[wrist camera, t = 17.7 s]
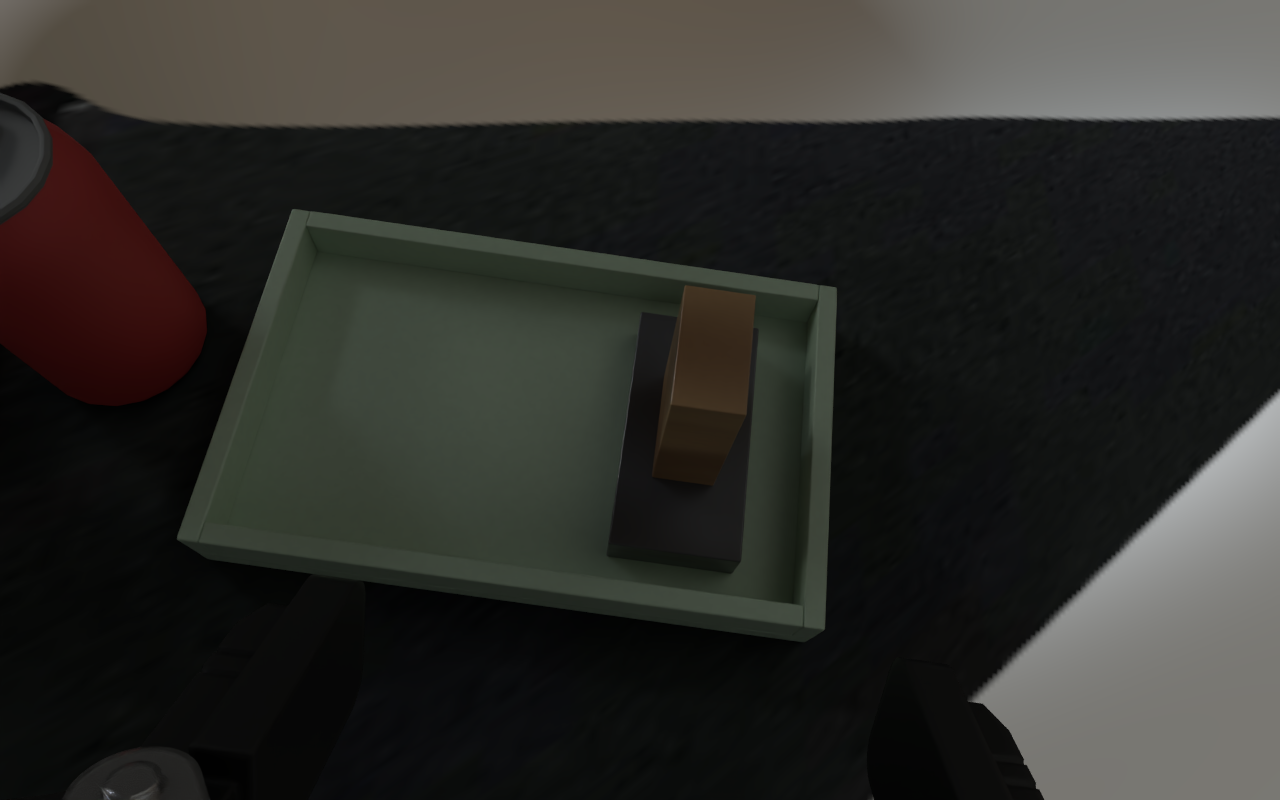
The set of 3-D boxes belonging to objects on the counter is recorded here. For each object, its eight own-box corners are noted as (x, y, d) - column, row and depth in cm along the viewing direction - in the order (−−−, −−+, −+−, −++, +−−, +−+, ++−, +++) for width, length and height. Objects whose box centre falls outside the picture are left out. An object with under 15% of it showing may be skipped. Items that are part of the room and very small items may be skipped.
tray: (206, 559, 34) (174, 539, 31) (311, 247, 40) (291, 207, 37) (805, 642, 34) (825, 630, 32) (819, 321, 40) (837, 287, 38)
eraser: (732, 574, 34) (783, 507, 26) (605, 556, 34) (616, 484, 26) (750, 349, 38) (798, 230, 30) (637, 333, 38) (655, 209, 30)
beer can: (237, 294, 39) (105, 100, 28) (173, 428, 36) (-2, 272, 25) (95, 261, 39) (-93, 56, 28) (20, 392, 36) (-220, 222, 25)
